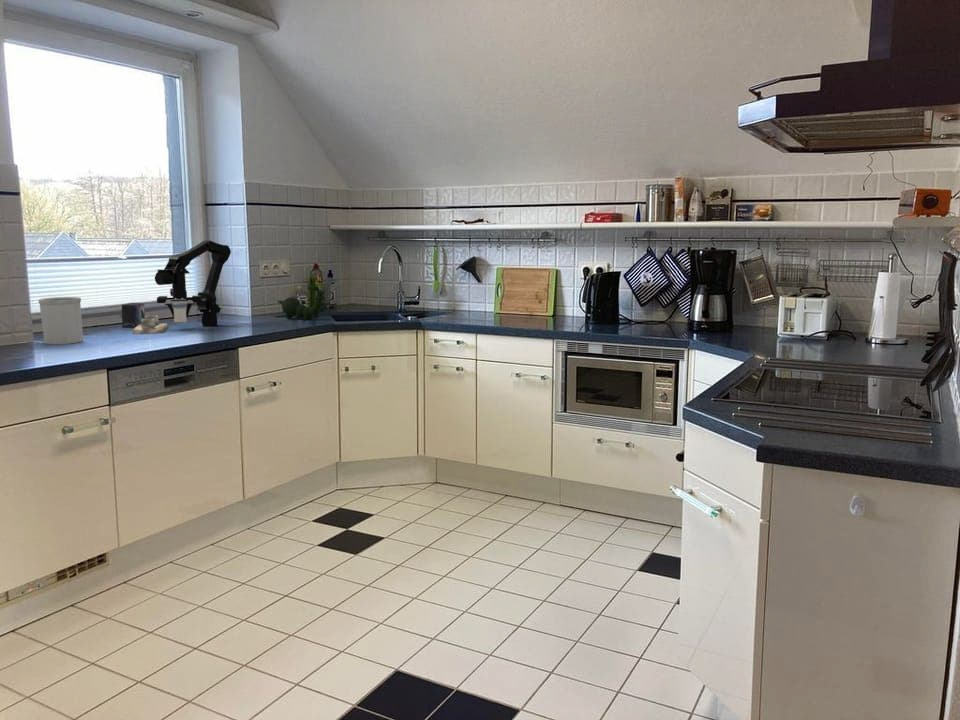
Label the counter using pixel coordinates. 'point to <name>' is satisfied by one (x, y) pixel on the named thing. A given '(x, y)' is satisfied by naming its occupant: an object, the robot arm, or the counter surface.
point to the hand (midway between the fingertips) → (180, 318)
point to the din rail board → (156, 330)
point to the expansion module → (180, 314)
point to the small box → (132, 314)
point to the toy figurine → (303, 306)
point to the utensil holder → (61, 320)
